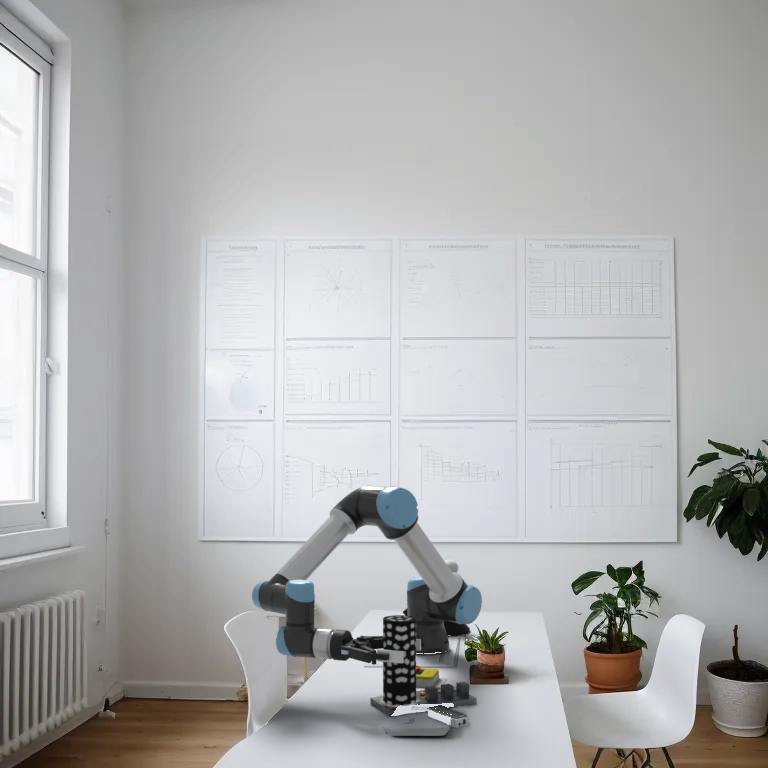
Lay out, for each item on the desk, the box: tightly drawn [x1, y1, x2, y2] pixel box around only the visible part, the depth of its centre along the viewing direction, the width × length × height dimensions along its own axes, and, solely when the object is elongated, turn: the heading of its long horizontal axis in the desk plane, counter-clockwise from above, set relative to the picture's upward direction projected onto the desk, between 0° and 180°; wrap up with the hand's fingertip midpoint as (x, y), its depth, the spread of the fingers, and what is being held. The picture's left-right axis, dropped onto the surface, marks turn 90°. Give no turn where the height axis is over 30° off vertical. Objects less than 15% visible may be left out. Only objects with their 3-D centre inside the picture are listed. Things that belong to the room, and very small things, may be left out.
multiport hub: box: [427, 705, 471, 729], centre depth 199 cm, size 4×11×2 cm, turn 36°
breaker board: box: [370, 681, 478, 718], centre depth 212 cm, size 24×12×4 cm, turn 114°
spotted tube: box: [382, 614, 417, 705], centre depth 210 cm, size 8×8×20 cm
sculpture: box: [402, 559, 471, 637], centre depth 297 cm, size 15×24×25 cm, turn 85°
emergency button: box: [416, 665, 448, 688], centre depth 232 cm, size 9×4×15 cm
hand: (412, 650), depth 209 cm, fingers open, 13 cm apart
